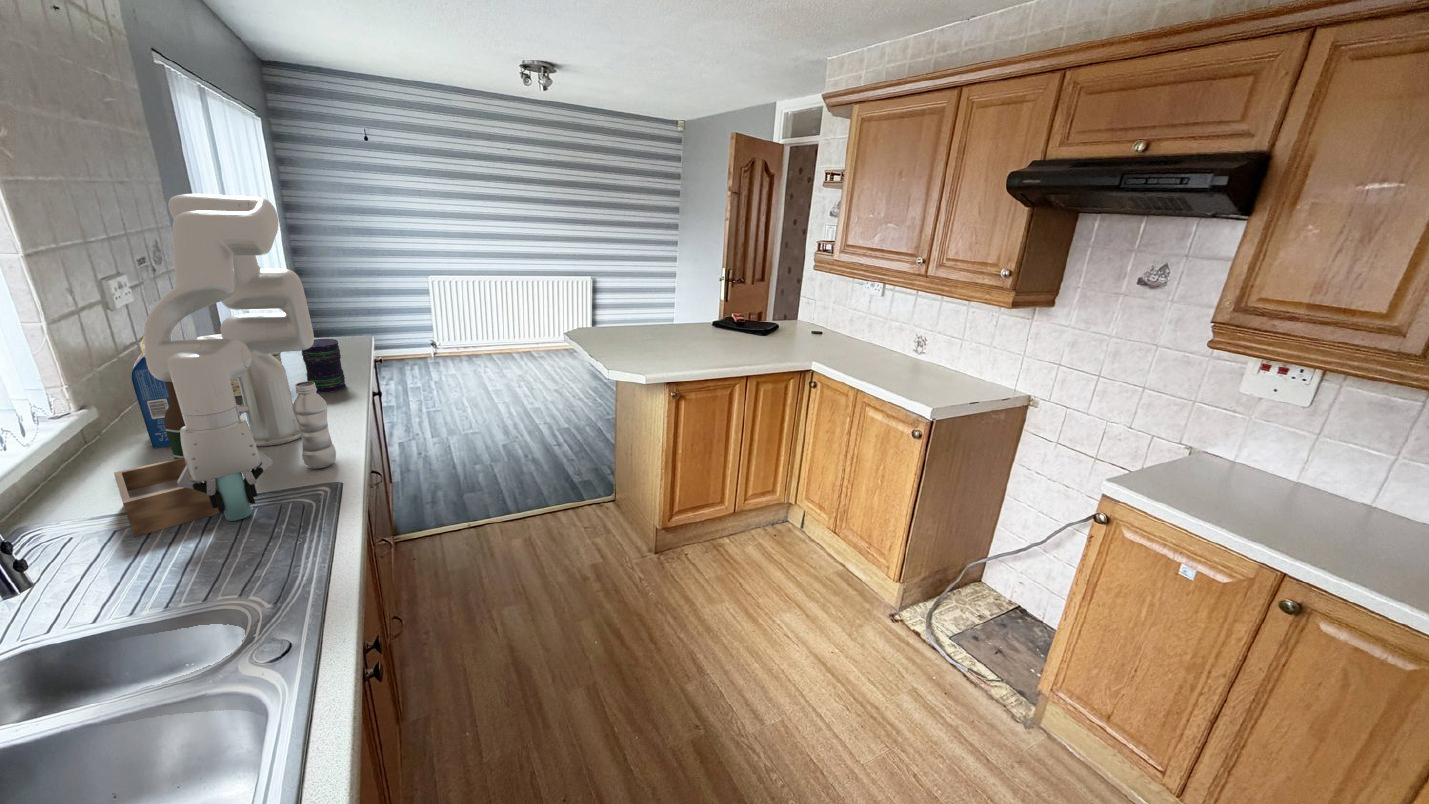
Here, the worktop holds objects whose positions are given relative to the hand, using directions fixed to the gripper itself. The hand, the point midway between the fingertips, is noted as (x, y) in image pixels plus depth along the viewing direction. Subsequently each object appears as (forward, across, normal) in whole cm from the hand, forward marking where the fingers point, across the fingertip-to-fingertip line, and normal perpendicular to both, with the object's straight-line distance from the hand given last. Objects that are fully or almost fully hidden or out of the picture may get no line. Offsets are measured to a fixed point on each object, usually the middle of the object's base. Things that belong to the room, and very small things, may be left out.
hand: (235, 504), depth 108 cm
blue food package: (+4, +3, -54) cm, 55 cm away
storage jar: (+5, -36, -72) cm, 81 cm away
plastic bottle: (+4, -18, -14) cm, 23 cm away
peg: (+2, 0, 0) cm, 2 cm away
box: (+3, +6, -12) cm, 14 cm away
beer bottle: (+4, +1, -29) cm, 30 cm away
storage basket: (+5, -19, -90) cm, 93 cm away
